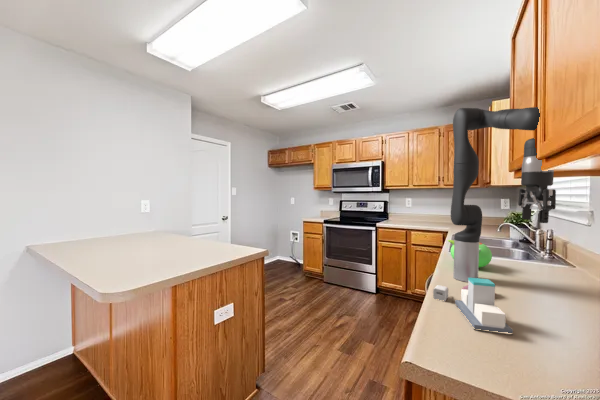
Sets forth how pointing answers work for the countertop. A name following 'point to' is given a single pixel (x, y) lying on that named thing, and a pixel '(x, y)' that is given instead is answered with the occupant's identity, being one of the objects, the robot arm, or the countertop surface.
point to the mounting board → (475, 322)
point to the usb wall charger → (440, 292)
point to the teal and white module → (480, 292)
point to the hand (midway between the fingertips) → (534, 221)
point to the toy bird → (484, 254)
